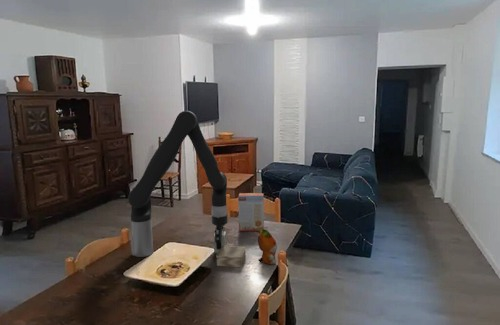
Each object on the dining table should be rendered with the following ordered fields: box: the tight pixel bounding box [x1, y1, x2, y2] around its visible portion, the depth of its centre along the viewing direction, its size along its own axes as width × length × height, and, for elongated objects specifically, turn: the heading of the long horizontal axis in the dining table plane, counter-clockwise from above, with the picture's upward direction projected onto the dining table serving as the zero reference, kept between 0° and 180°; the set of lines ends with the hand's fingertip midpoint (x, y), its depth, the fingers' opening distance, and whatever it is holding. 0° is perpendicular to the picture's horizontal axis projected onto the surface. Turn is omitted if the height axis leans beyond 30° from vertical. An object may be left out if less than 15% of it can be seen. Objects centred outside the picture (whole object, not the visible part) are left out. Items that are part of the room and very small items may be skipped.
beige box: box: [215, 245, 247, 268], centre depth 167 cm, size 11×11×5 cm
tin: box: [213, 230, 227, 254], centre depth 178 cm, size 5×5×9 cm
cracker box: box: [237, 192, 265, 232], centre depth 205 cm, size 14×6×21 cm, turn 84°
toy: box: [257, 228, 278, 265], centre depth 166 cm, size 11×9×15 cm
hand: (220, 245), depth 178 cm, fingers open, 8 cm apart
